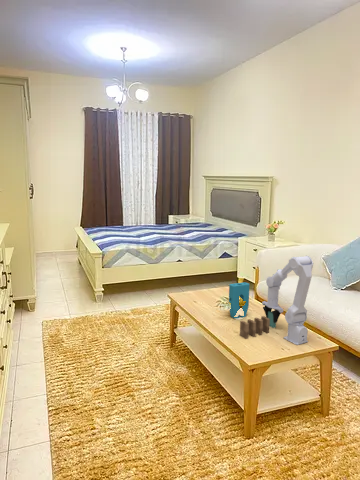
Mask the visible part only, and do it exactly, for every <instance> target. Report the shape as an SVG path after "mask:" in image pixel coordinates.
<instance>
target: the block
mask: <svg viewBox="0 0 360 480" xmlns="http://www.w3.org/2000/svg"><path fill="white" fill-rule="evenodd" d="M250 285H251V284H250V283H248V282H238V283H237V282H236V283H229V285H228V303H229V302H230V303H231V309H230V310H229V315H230V317H231V318H233V319H235V320H237V319H240V318H245V317H247V314H248V310H249V304H250V302H249V301H250ZM239 296H240V297H241V298H242V299H243V301H246V303H245V305H244V306H242V307H243V308H242V309H243V311H244V316H238V317H234V316H235V315H236V313H237V311H238V310H239V309H240V306H239Z"/></svg>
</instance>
